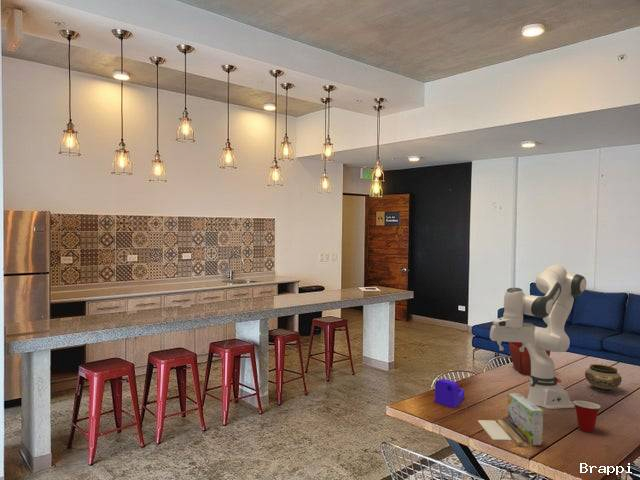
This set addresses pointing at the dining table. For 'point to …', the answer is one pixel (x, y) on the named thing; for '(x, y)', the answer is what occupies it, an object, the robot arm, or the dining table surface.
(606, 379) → the ceramic bowl
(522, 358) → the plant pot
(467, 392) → the dining table surface
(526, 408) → the snack box
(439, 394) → the bracket
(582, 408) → the plastic cup
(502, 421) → the tear bar
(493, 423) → the mat
